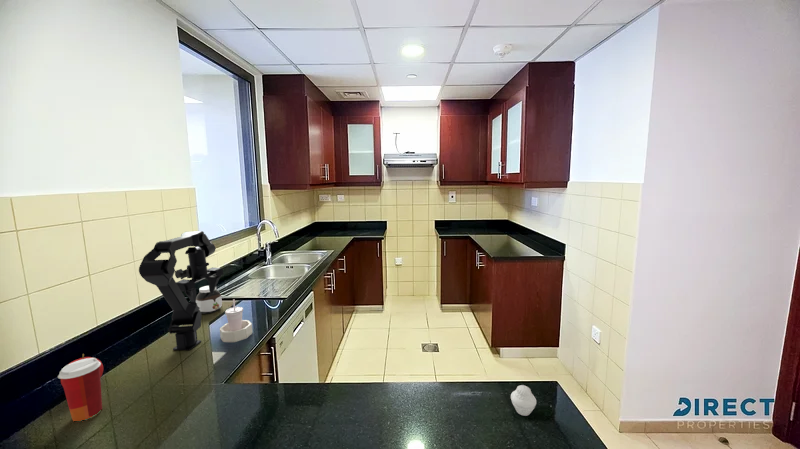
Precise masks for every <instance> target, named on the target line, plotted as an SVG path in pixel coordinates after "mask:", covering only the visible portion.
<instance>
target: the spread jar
mask: <svg viewBox="0 0 800 449" xmlns="http://www.w3.org/2000/svg"><path fill="white" fill-rule="evenodd" d="M198 290H199V292H198V294H196V300H195V302H196V303H197V306H198V307H199V308H200V309H199V310H200V312H201V315H202V314H203V315H208V314H214V313H216V312H218V311H219V310H220V309H221V308H222V305H223V300H222V299H223V298H222V293H221V292H220V291H219V290H218V289H217V287H216V288H215V290H214V293H213V294H211V293H210V290H209V285H204V286H201V287H199V289H198Z"/></svg>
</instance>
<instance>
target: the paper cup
mask: <svg viewBox="0 0 800 449" xmlns="http://www.w3.org/2000/svg"><path fill="white" fill-rule="evenodd" d="M97 359H98V358H96V357H93V358H86V359H82V360H78V361H75V362H73V363H71V362H69V363H70V364H69V363H68V364H66V365H65V366H64V367H63V368H61V370H60V371H59V374H58V375H57V378H58V379H60V381H61V380H62V384H63V386H62V388H63V391H64V395H65V398H66V401H67V402H66V403H67V407H68V409H69V413H70V417H71V419H72V421H73V422H74V421H81V420H85V419H88V418H90V417H92V416H93V415H95V414H97V413H98V412H99V411H100V410H101V409H102V410H103V398H102V396H103V395H102V381H101V378H100V365H101V362H102V361H101V362H99V361H98V360H99V359H98V360H97ZM62 384H61V385H62Z"/></svg>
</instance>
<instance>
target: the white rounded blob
mask: <svg viewBox="0 0 800 449" xmlns="http://www.w3.org/2000/svg"><path fill="white" fill-rule="evenodd" d="M531 390H532V389H531V388H530V387H529V386H526V385H524V384H521V385H518V386H517V387H516V389H515V390H513V391H512V392H511V394H510V399H511V404H512V405H513V407H514V409H515V411H516V413H517V414H519V415H521V416H525V417H526V416H530V414H531V413H532V412H533V410H534V409H535V408H536V406H537V399H536V397H535V396H534V394H533V393H532V391H531Z"/></svg>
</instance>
